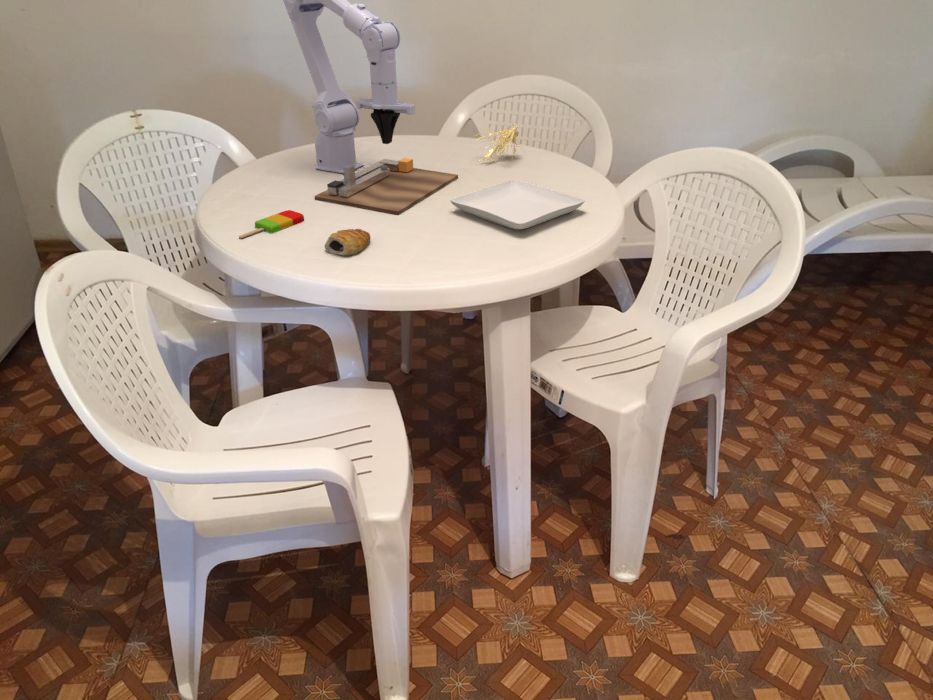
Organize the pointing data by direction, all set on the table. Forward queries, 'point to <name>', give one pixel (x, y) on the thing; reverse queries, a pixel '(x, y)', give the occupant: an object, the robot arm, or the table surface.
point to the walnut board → (394, 191)
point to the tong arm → (360, 179)
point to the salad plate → (517, 203)
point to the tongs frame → (363, 174)
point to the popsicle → (276, 222)
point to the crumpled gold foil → (502, 141)
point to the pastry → (347, 242)
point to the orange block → (405, 164)
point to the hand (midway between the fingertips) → (387, 142)
